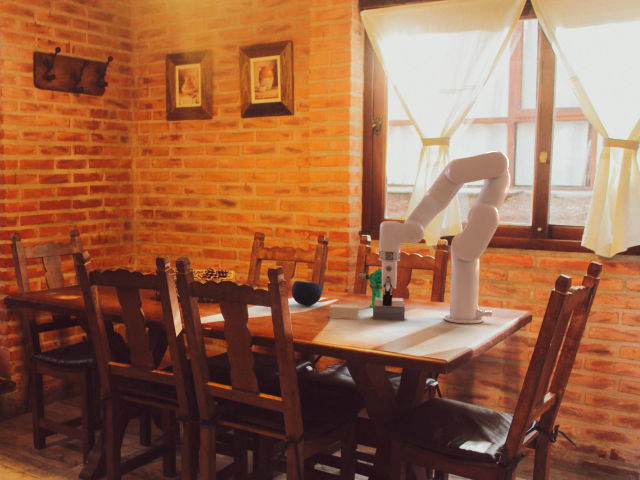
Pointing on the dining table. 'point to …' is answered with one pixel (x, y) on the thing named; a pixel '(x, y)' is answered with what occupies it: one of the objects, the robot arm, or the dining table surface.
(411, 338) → the dining table surface
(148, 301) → the dining table surface
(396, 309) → the grey book
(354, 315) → the cream book
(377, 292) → the toy
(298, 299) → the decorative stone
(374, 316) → the grey book
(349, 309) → the cream book
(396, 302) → the cream book
